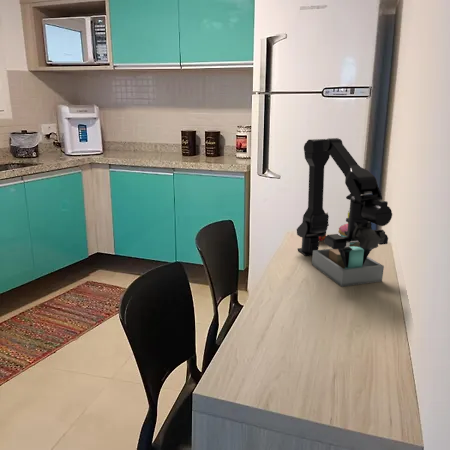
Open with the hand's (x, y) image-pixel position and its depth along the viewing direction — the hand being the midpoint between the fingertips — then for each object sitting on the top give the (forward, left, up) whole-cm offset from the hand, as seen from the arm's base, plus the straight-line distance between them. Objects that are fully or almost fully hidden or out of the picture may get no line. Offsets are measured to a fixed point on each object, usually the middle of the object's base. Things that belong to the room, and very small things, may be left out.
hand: (353, 266), depth 136 cm
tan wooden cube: (-8, 0, -3) cm, 8 cm away
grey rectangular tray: (-4, 0, -4) cm, 6 cm away
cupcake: (-30, +18, -4) cm, 35 cm away
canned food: (-38, +8, -4) cm, 39 cm away
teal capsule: (0, 0, -2) cm, 2 cm away
